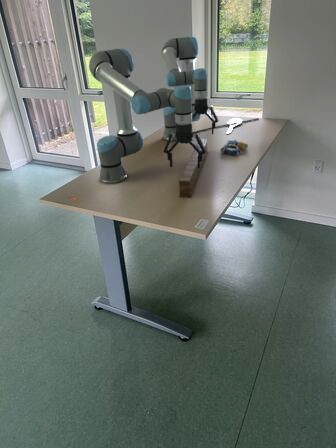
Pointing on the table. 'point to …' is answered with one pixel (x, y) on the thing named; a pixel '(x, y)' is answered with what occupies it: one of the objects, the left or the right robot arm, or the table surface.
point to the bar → (191, 172)
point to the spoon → (233, 124)
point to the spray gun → (233, 147)
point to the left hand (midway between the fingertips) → (185, 166)
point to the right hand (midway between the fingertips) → (201, 133)
